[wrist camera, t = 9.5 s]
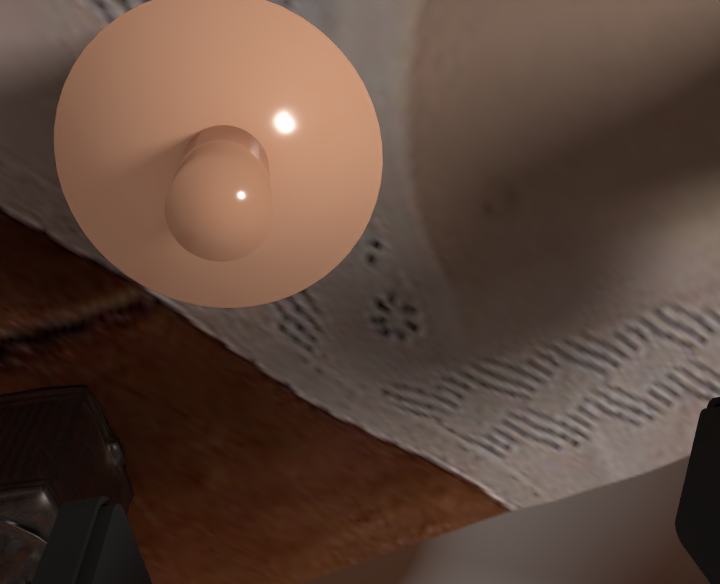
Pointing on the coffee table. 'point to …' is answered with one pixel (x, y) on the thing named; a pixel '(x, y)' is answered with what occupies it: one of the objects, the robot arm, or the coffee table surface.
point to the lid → (218, 150)
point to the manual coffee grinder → (51, 469)
